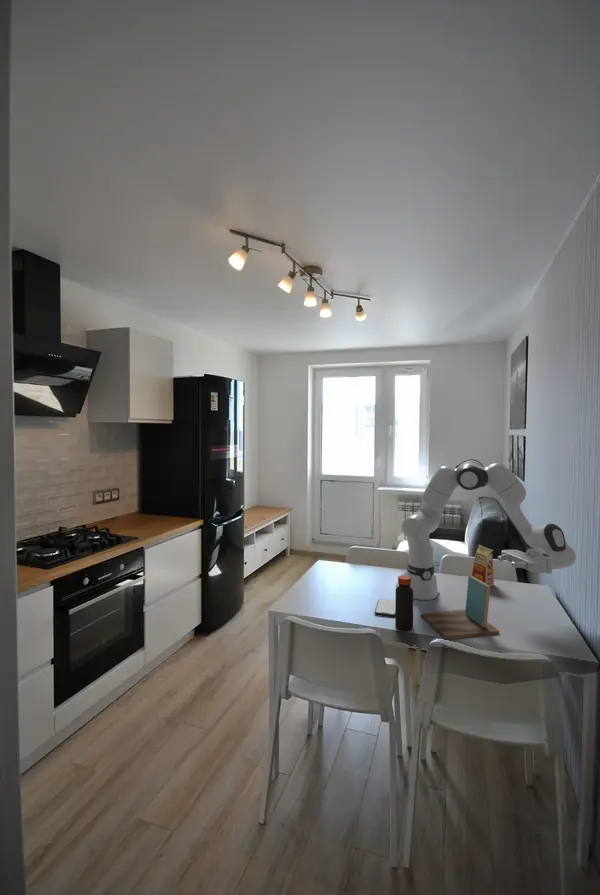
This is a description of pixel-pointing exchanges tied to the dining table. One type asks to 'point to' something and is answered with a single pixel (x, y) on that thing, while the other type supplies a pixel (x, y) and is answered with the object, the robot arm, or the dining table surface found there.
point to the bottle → (404, 604)
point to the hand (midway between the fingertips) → (505, 561)
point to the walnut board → (457, 624)
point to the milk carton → (483, 566)
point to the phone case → (385, 608)
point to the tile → (477, 601)
